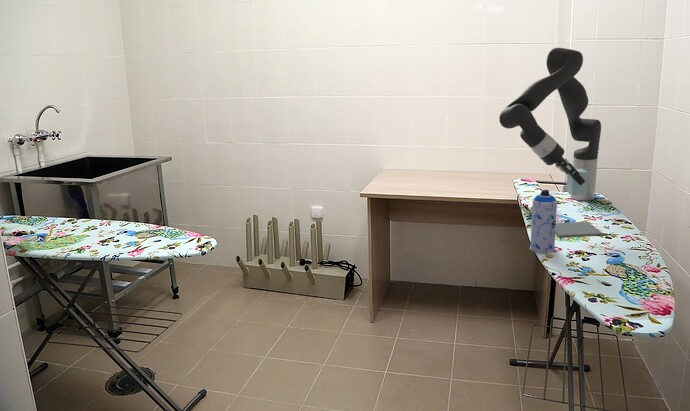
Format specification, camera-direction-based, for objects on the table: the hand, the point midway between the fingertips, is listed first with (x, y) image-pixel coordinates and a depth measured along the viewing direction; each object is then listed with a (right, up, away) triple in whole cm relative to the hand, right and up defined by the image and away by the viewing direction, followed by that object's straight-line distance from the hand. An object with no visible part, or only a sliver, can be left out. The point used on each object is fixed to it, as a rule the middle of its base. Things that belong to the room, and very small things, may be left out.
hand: (579, 181), depth 198 cm
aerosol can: (-17, -23, -11) cm, 31 cm away
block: (-1, -4, +1) cm, 4 cm away
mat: (0, -17, +5) cm, 18 cm away
